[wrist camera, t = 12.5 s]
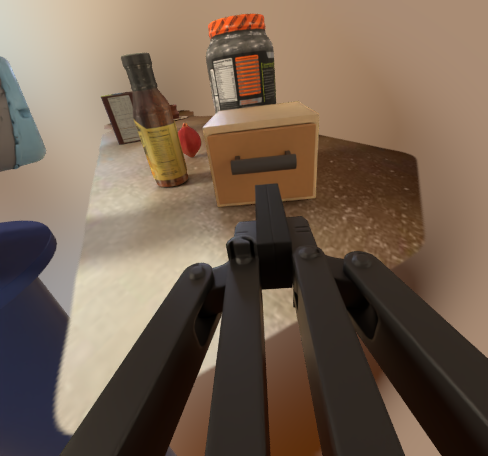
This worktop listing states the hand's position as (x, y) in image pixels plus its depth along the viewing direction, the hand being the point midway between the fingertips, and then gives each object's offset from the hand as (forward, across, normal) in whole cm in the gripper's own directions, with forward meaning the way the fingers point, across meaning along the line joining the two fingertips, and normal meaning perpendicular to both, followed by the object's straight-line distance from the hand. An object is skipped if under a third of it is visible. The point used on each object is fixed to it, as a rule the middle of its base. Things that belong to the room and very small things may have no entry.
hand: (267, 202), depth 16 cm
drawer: (+20, 0, +7) cm, 21 cm away
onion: (+45, +17, +8) cm, 49 cm away
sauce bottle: (+28, +17, +8) cm, 34 cm away
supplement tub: (+54, +3, +8) cm, 55 cm away
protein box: (+81, +48, +8) cm, 94 cm away
